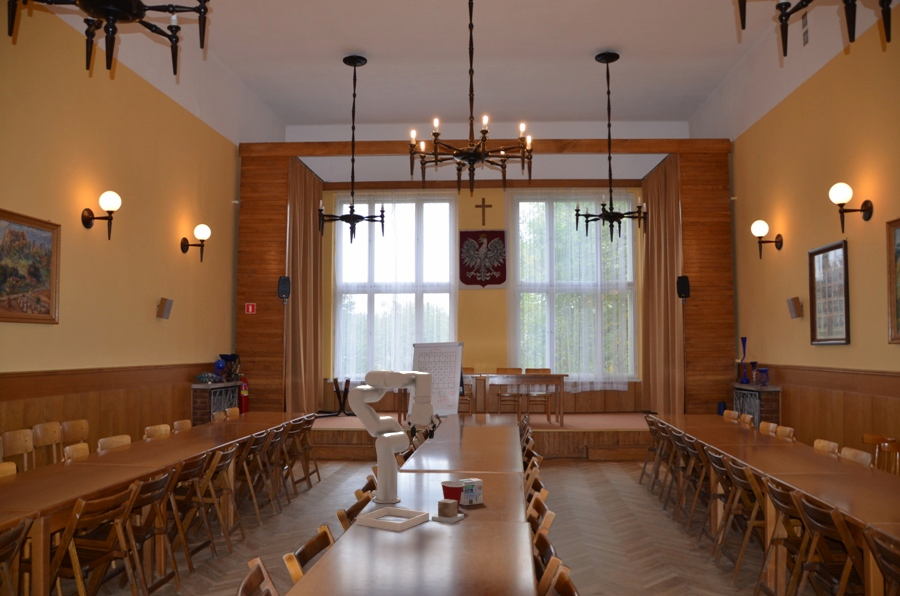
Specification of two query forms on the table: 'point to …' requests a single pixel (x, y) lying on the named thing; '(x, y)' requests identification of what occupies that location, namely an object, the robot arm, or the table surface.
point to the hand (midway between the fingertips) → (422, 437)
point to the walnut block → (447, 508)
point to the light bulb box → (471, 491)
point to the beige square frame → (371, 521)
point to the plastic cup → (452, 490)
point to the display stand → (447, 519)
